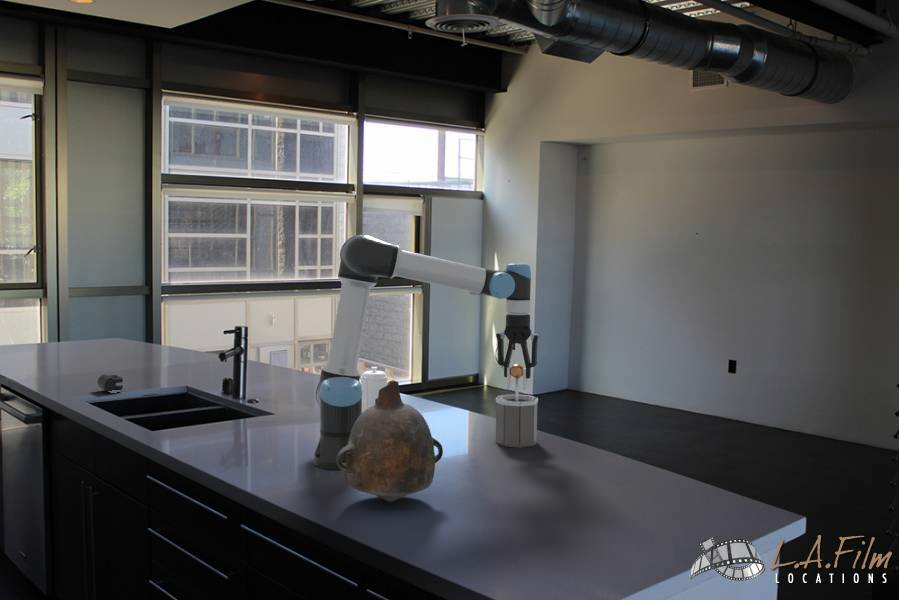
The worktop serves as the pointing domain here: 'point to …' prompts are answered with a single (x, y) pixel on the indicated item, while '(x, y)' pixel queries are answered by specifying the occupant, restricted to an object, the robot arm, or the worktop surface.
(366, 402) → the coffeepot
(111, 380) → the end cap
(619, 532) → the worktop surface
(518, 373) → the copper ball knob
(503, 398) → the grey octagonal tube
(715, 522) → the worktop surface
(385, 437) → the jug
